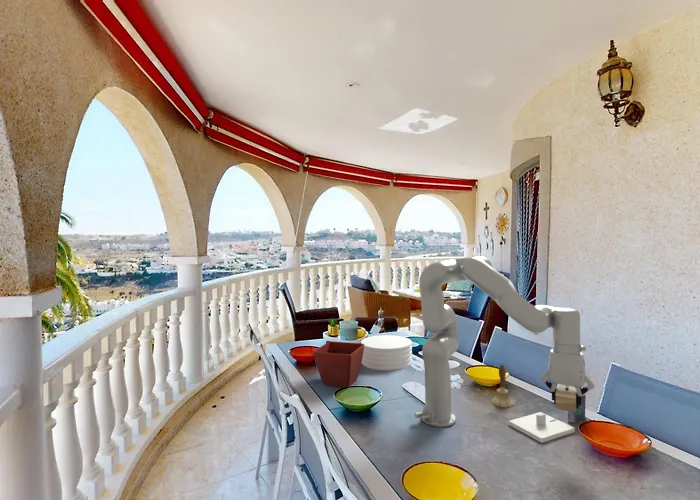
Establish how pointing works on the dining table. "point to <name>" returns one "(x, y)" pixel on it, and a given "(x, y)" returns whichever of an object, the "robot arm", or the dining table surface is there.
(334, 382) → the plant pot
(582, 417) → the flask
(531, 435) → the shaft board
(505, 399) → the hand bell
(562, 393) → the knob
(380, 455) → the dining table surface
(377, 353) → the plate stack
